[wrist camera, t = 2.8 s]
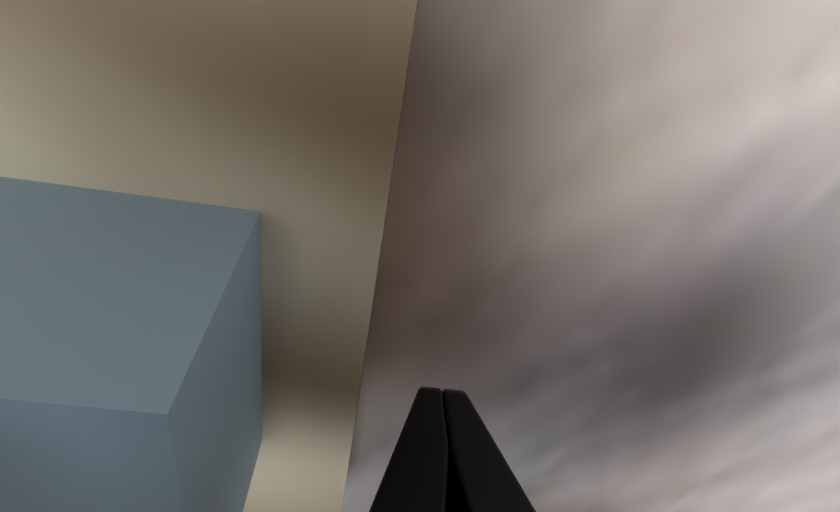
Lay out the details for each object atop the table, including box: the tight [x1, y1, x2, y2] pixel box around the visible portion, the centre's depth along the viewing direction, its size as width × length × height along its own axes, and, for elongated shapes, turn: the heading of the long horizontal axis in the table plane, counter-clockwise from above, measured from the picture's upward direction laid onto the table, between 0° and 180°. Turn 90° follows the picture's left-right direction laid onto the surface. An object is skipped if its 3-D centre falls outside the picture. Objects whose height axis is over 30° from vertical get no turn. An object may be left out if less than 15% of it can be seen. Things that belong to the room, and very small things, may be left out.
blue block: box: [0, 177, 262, 512], centre depth 8 cm, size 6×6×4 cm
